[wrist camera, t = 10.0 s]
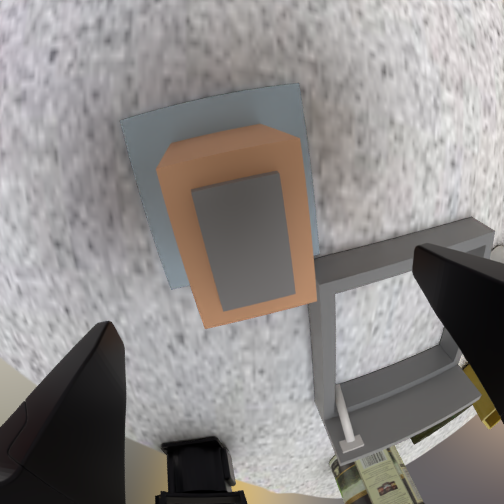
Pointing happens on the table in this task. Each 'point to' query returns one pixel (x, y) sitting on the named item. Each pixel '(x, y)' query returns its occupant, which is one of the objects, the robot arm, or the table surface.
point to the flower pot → (483, 401)
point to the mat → (197, 124)
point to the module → (241, 221)
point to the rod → (434, 428)
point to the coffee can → (376, 480)
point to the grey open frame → (397, 375)
